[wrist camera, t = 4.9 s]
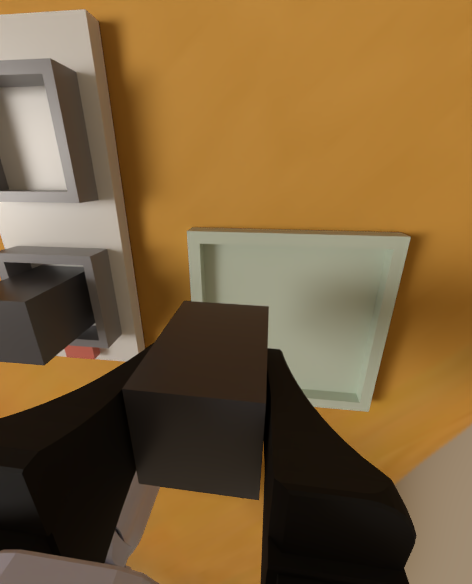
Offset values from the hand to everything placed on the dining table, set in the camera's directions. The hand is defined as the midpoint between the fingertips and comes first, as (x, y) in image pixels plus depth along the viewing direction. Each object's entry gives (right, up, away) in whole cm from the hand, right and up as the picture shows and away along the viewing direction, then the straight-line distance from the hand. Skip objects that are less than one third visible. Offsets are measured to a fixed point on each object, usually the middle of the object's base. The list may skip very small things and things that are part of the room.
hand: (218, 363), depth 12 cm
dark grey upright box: (0, +1, +2) cm, 2 cm away
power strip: (-11, +8, +8) cm, 16 cm away
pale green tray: (+5, +1, +9) cm, 10 cm away
